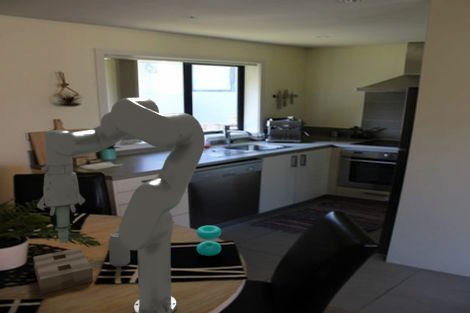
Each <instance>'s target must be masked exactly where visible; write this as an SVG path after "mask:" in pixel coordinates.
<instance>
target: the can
mask: <svg viewBox="0 0 470 313" xmlns="http://www.w3.org/2000/svg"><path fill="white" fill-rule="evenodd" d="M108 251H109V252H108V253H109V255H108V256H109V264H110V265H111V266H113V267H116V268H122V267H125V266H127V265H128V264H129V263H130V262H131V250H130V249H127V248H126V247H124V246H123V244H122V243H121V241H120V238H119V230H117V231H113V232H111V233H110V236H109V237H108Z"/></svg>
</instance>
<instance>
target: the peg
mask: <svg viewBox="0 0 470 313" xmlns="http://www.w3.org/2000/svg"><path fill="white" fill-rule="evenodd" d="M54 213H55V215H56V227H54V228H55V230H56V231H57V235H58V242H59V243H61V244H64V243H65V244H66V243H67V242H69V229H71V224H70V207H69V205H64V206H57V207H55V211H54Z"/></svg>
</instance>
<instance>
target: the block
mask: <svg viewBox="0 0 470 313" xmlns="http://www.w3.org/2000/svg"><path fill="white" fill-rule="evenodd" d="M32 258H33V267H34V268H33V269H35V270H34V274H35V276H37V277H36V279H37V284H38V286H39V290H40V293H41V295H43V294H46V293H50V292H55V291H59V290H62V289H66V288H67V289H68V288H71V287H76V286H79V285H84V284H87V283H88V284H89V283H91V282H94V276H93V275H94V274H93V272H94V271H93V266H92V265H91V262H90V261H89V260H88V257H87V256H86V255H85V253H84V252H83V250H82V249H81V247H77V248H71V249H67V250H62V251H56V252H52V253H51V252H50V253H46V254H42V255H37V256H36V255H35V256H33V257H32Z"/></svg>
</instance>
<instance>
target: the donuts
mask: <svg viewBox="0 0 470 313" xmlns="http://www.w3.org/2000/svg"><path fill="white" fill-rule="evenodd" d="M221 234H222V229H221V228H220V227H218V226H216V225H203V226H200V227H198V228H197V229H196V235H197V237H199V238H200V239H202V240H205V241H202V242H200V243H198V244H197V246H196V251H197V253H198V254H199V255H202V256H204V255H205V257H212V256H216V255H218V254H220V252H221V251H222V246H221V245H220V243H219V242H217V241H214V240H216V239H218V238H219V237H221ZM212 240H213V241H212Z"/></svg>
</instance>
